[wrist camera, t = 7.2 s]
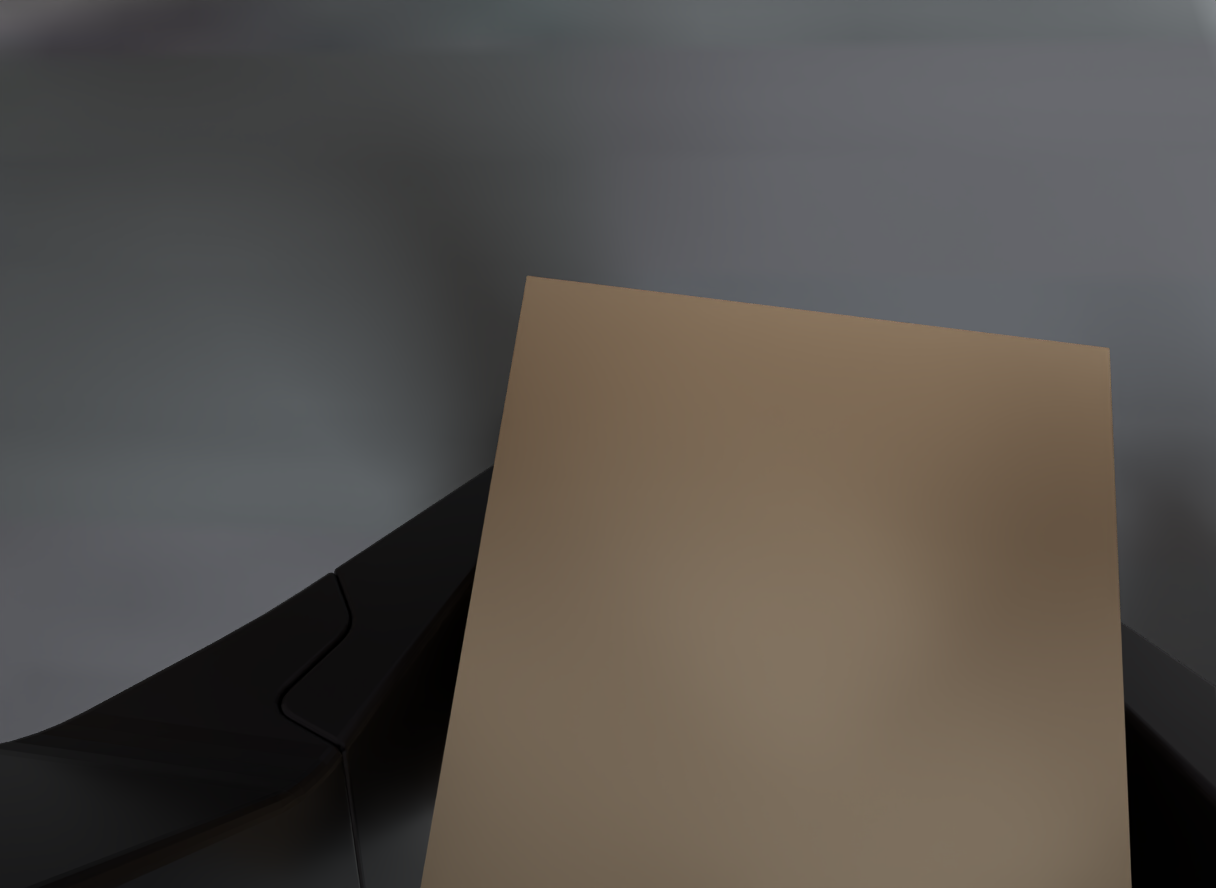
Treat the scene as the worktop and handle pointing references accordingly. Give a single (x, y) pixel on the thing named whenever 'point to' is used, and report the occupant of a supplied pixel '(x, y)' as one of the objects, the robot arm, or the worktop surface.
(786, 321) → the wooden post
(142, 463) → the worktop surface
